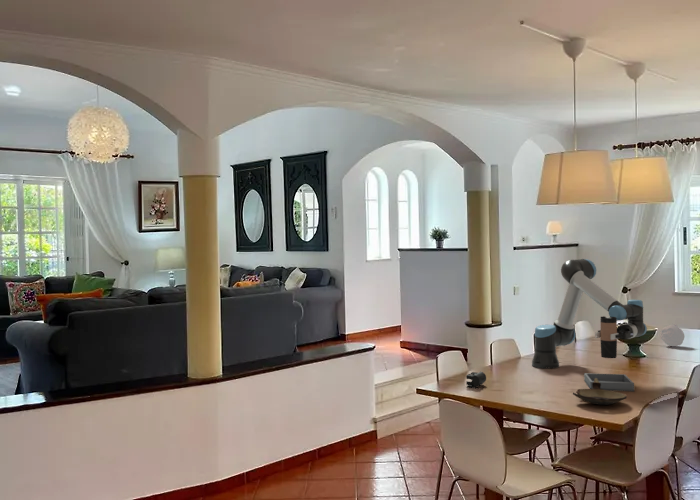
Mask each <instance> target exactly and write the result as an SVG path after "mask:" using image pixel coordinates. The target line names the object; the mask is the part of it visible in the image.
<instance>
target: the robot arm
mask: <svg viewBox="0 0 700 500" xmlns="http://www.w3.org/2000/svg"><path fill="white" fill-rule="evenodd" d="M560 274H561V276H562V278H563V279H564V280H565V281H566V282H567V283H568V285H567V286H568V287H567V288H566V293H565V295H564V299H563V302H562V304H561V308H560V312H559V314H558V318H557V319H555V320H554V321H553V324H541V325H538V326H537V325H536V327H535V329H534V354H533V358H532V361H531V366H532V367H534V368H538V369H556V368H560V362H559V359H558V356H557V347H563V346H564V347H565V346H567V345H570V344H572V343H574V342H575V339H576V336H577V335H576V331H575V325H574V321H575V317H576V315H577V312H578V308H579V305H580V303H581V300H582V296H583V293H584V294H585V295H587V296H588V297H589V298H590V299H592V300H593V301H594V302H595V303H597V304H598V305H599V306H601V308H603V309H604V310H605V311H606V312H608V316H609V317H616V318H617V321H623V320H624V321H625V320H627V323H625V324H621V325H617V333H614V334H611V340H614V339H617V340H619V339H620V340H631V339H633V338H639V337H641V336H642V337H643V336H644V335H645V334H646V333H647V330H648V327H647V325H646V324H645V323H644V304H643V301H642V300H640V299H628V300H627V303H626V304H623V303H621V301H618V300H617V299H616V298H615V297H613V296H612V295H611V294H609V293H608V292H607V291H606V290H604V289H603V288H602V287H600V286H599V285H598V284H597V283H595V282H594V281H593V280H592V279H593V278H595V277H596V275H597V267H596V264H595V263H594V262H593V261H592V260H591V259H586V258H581V259H580V258H579V259H568V260H565V262H564V263H563V264H562V265H561V269H560ZM594 336H595V337H594V338H595V339H599V338H600V339H601V329H600V330H597V331H596V332H595V333H594Z"/></svg>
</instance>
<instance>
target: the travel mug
mask: <svg viewBox="0 0 700 500" xmlns="http://www.w3.org/2000/svg"><path fill="white" fill-rule="evenodd" d="M617 322H618V320H617V318H616V317H610V316H609V317H606V316H605V315H603V316H600V330H601V337H600V354H601V355H600V357H601V358H604V359H617V356H618V354H617V353H618V352H617V351H618V348H617V347H618V339H614V340H611V334H614V333H617V327H618V325H617Z"/></svg>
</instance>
